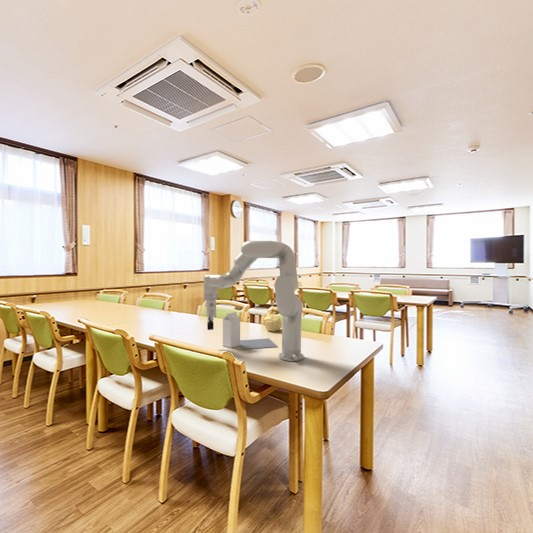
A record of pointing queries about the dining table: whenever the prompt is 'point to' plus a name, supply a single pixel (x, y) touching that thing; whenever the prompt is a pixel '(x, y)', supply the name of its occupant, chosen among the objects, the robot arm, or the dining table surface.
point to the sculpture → (272, 323)
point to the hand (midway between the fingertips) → (210, 329)
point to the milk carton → (231, 330)
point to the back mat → (257, 344)
